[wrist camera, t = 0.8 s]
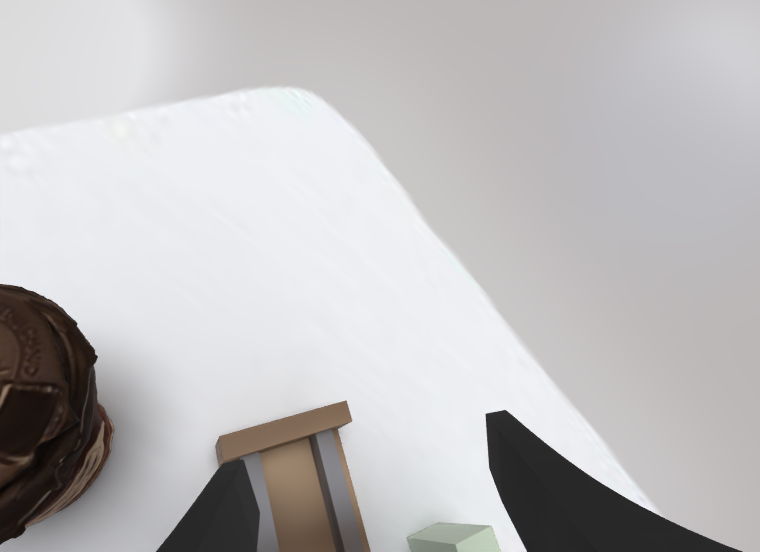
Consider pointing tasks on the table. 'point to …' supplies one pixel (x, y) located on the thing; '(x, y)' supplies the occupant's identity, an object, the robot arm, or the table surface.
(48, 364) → the coffee cup
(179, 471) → the table surface
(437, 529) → the door panel
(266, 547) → the track sill
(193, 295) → the table surface
